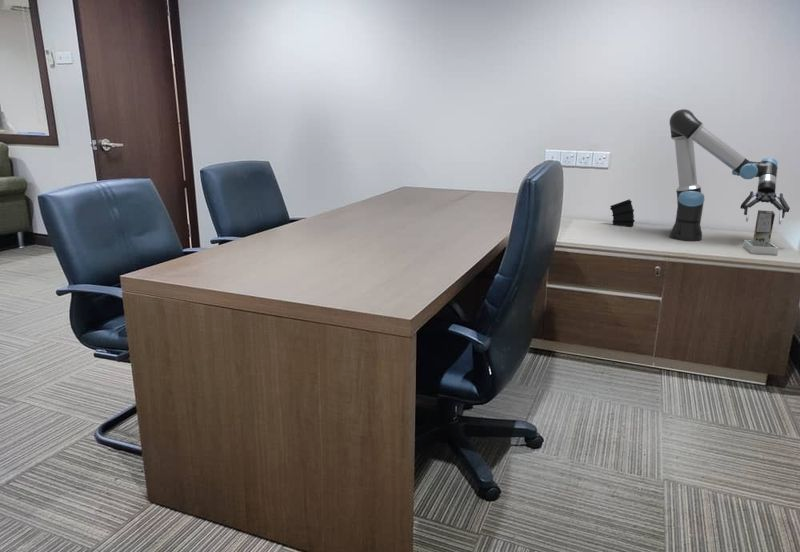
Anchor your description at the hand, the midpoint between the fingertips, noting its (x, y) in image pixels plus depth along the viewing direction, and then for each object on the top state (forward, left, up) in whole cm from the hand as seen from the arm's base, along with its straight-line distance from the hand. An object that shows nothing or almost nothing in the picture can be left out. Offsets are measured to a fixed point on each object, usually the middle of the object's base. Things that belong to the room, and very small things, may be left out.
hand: (763, 221), depth 284 cm
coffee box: (-2, -7, -11) cm, 13 cm away
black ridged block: (-60, +38, -13) cm, 73 cm away
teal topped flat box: (-1, -8, -13) cm, 15 cm away
